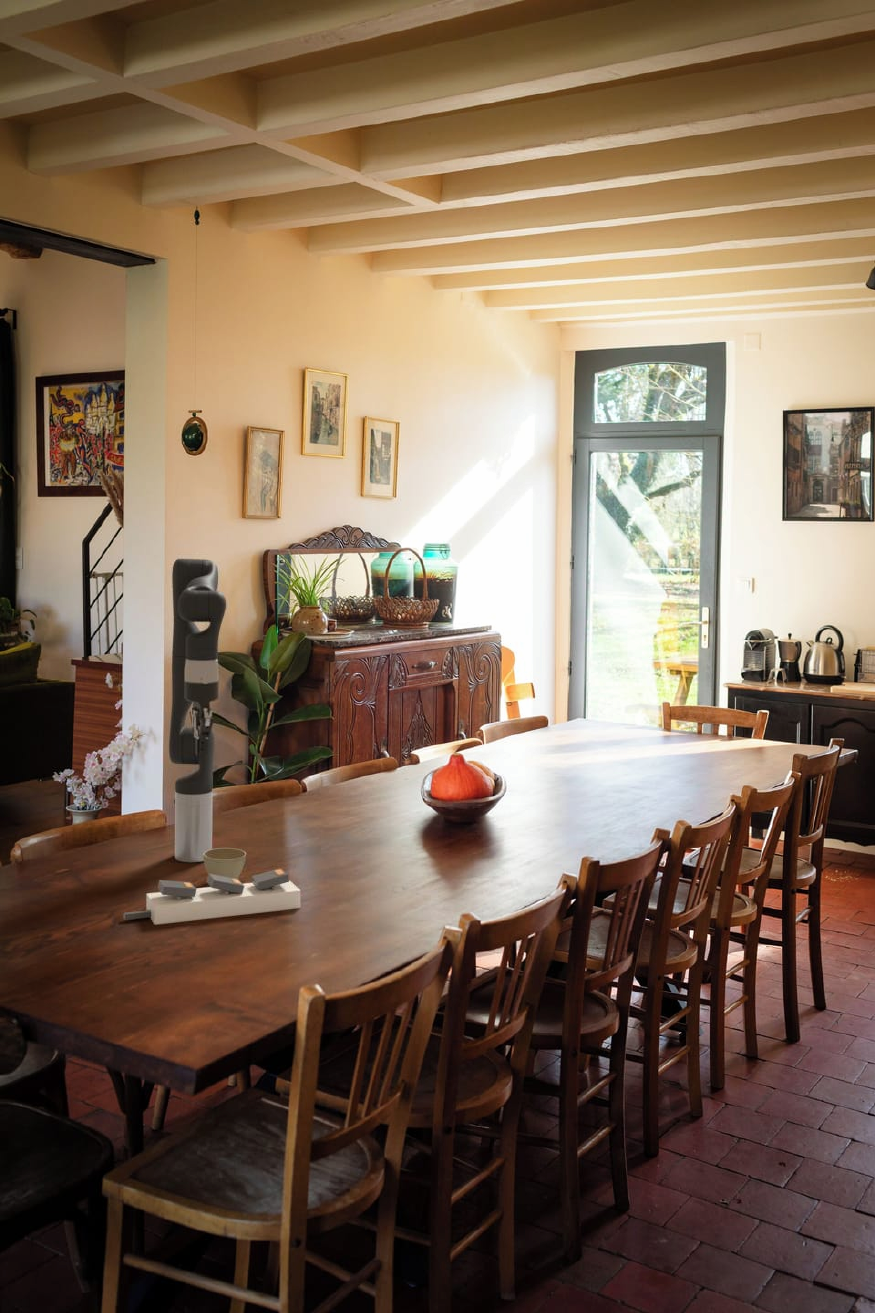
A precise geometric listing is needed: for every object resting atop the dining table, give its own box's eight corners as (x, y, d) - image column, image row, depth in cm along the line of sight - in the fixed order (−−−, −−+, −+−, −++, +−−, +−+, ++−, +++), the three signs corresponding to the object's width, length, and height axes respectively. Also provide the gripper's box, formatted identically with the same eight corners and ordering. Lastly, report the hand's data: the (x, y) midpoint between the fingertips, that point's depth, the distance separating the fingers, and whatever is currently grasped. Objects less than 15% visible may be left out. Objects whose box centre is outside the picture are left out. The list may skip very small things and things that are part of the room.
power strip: (120, 914, 252) (120, 892, 251) (287, 896, 267) (288, 875, 267) (128, 927, 243) (128, 905, 243) (300, 908, 259) (300, 887, 259)
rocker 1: (157, 888, 252) (159, 879, 252) (189, 890, 255) (191, 881, 255) (162, 895, 248) (164, 886, 248) (194, 897, 251) (196, 888, 251)
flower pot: (204, 890, 270) (204, 860, 269) (201, 877, 279) (201, 848, 278) (248, 888, 272) (248, 858, 272) (243, 875, 282) (243, 846, 281)
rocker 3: (252, 883, 261) (251, 875, 261) (282, 875, 264) (281, 867, 264) (259, 890, 257) (257, 882, 256) (289, 881, 260) (287, 873, 259)
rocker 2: (206, 881, 257) (208, 873, 257) (236, 887, 260) (238, 879, 260) (211, 888, 252) (214, 879, 252) (242, 893, 255) (244, 885, 255)
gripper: (178, 675, 267) (178, 750, 269) (191, 683, 256) (191, 761, 257) (210, 675, 271) (210, 748, 272) (225, 682, 259) (224, 759, 261)
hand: (201, 754), depth 265 cm, fingers closed
